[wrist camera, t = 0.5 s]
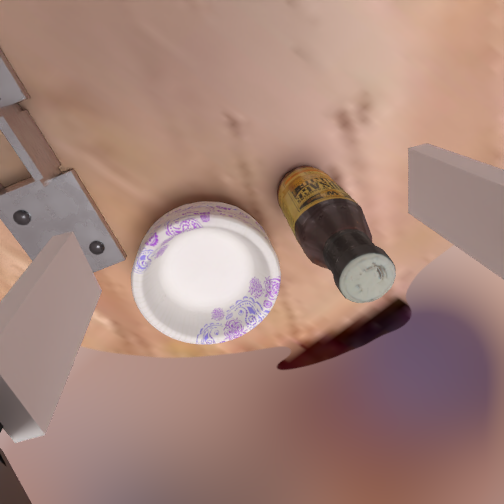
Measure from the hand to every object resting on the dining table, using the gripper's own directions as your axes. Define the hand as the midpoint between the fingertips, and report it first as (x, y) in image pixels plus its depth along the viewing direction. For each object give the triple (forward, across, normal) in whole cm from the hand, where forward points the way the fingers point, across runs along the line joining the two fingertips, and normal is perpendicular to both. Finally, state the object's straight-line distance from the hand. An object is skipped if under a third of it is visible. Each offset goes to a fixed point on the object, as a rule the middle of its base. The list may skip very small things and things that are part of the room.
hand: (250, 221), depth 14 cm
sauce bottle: (+27, +8, -9) cm, 29 cm away
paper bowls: (+27, -5, -14) cm, 31 cm away
